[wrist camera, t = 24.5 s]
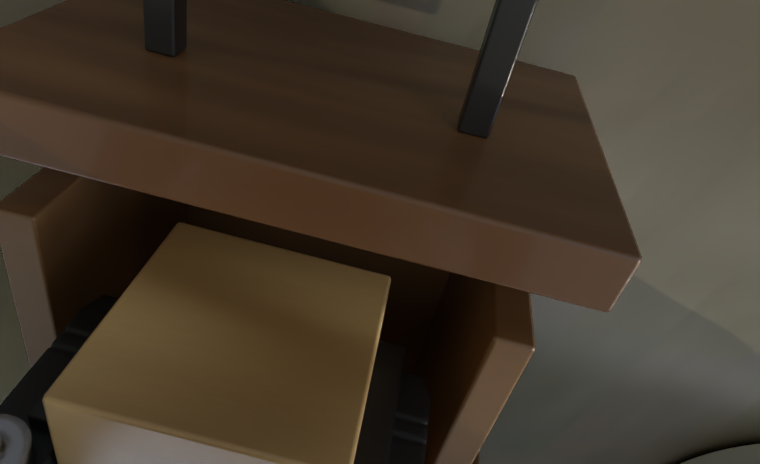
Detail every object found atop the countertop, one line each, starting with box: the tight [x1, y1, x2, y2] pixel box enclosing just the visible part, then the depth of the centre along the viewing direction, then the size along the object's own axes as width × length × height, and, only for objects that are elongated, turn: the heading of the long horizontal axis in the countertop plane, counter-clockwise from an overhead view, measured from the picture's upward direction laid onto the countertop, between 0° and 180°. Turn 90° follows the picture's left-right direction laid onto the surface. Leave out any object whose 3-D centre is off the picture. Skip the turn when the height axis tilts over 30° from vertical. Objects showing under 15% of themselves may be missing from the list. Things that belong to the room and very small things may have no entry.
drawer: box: [0, 0, 642, 464], centre depth 14 cm, size 18×11×8 cm, turn 169°
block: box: [42, 222, 391, 464], centre depth 11 cm, size 4×4×4 cm
